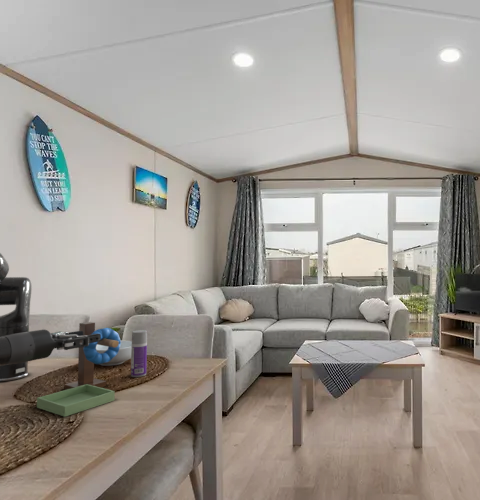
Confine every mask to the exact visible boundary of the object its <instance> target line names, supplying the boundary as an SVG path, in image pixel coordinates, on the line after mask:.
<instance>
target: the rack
mask: <svg viewBox="0 0 480 500" xmlns="http://www.w3.org/2000/svg"><path fill="white" fill-rule="evenodd" d="M78 327H79V328H78V331H83V336H84V335H91V334H92V333H93V332H94V331H96V322H93V321H86V322H79V325H78ZM80 343H82V340H80ZM97 344H98V345H103V346H109V347H114V348H115V347H117V346H118V344H119V342H118V341H116V340H110V339H106V338H104V339H101V340H100V341H99V342H98V343H97ZM83 348H84V347H79V348H78V364H77V365H78V366H77V380H75V381H72V382H68V383H65V384H64V385H63V390H67V389H71V388H75V387H78V386H82V385H86V384H89V385H92V386H96V387H100V388H104V387H107V385H108V383H107V380H104V379H99V378H95V377H94V376H95V364H94V363H92V362H90V361H88V360H87V359H86V357H85V354H84V351H83Z"/></svg>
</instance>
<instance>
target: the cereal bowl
mask: <svg viewBox="0 0 480 500" xmlns="http://www.w3.org/2000/svg"><path fill="white" fill-rule="evenodd" d="M120 341H121V345H120V348H119V351H118V353H117V355H116V356H115V357H114V358H113V359H111V360H110V361H109V362H106V363H102V364H99V366H105V367H109V366H117V365H121V364H124V363H125V362H126V361H128V360H131V348H132V340H125V339H124V340H122V339H120ZM108 347H109V346H103V345H98V344H97V346H96V350H97V352H98V353H104V352H105V351H106V350H107V349H108Z"/></svg>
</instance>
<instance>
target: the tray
mask: <svg viewBox="0 0 480 500" xmlns="http://www.w3.org/2000/svg"><path fill="white" fill-rule="evenodd" d="M115 394H116V393H115V390H111V389H108V388H104V387H101V388H100V387H96V386H92V385H89V384H86V385H82V386H78V387H75V388H71V389H67V390H65V389H63V390H60V391H57V392H53V393H50V394H46V395H42V396H38V397H36V408H37V409H40V410H43V411H46V412H49V413H52V414H55V415H59V416H61V417H64V418H65V417H69V416H71V415H74V414H75V415H76V414H78V413H80V412H84V411H87V410H89V409H93V408H95V407H98V406H102V405H105V404H108V403H111V402H114V401H115V397H116V396H115Z"/></svg>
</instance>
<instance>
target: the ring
mask: <svg viewBox="0 0 480 500" xmlns="http://www.w3.org/2000/svg"><path fill="white" fill-rule="evenodd" d="M92 334H100V335H101V339H110V340H116V341H118V342H119V344H118V346H117V347H115V348H114V347H108V349H107V350H106V351H105V352H104V353H98V352H97V350H96V346H97V343H98V342H94V343H89V346H86V347H84V348H83V351H84V354H85V357H86V359H87V360H88V361H90V362H92V363H94V365H100V364H102V363H106V362H109V361H110V360H111V359H113V358H114V357H115V356H116V355H117V353H118V351H119V348H120V345H121V341H120V340H121V338H120V334H119V333H118V332H117V331H115V330H114V329H113V328H110V327H104V328H98V329H95V331H94V332H93V333H92ZM92 334H91V335H92Z"/></svg>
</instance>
